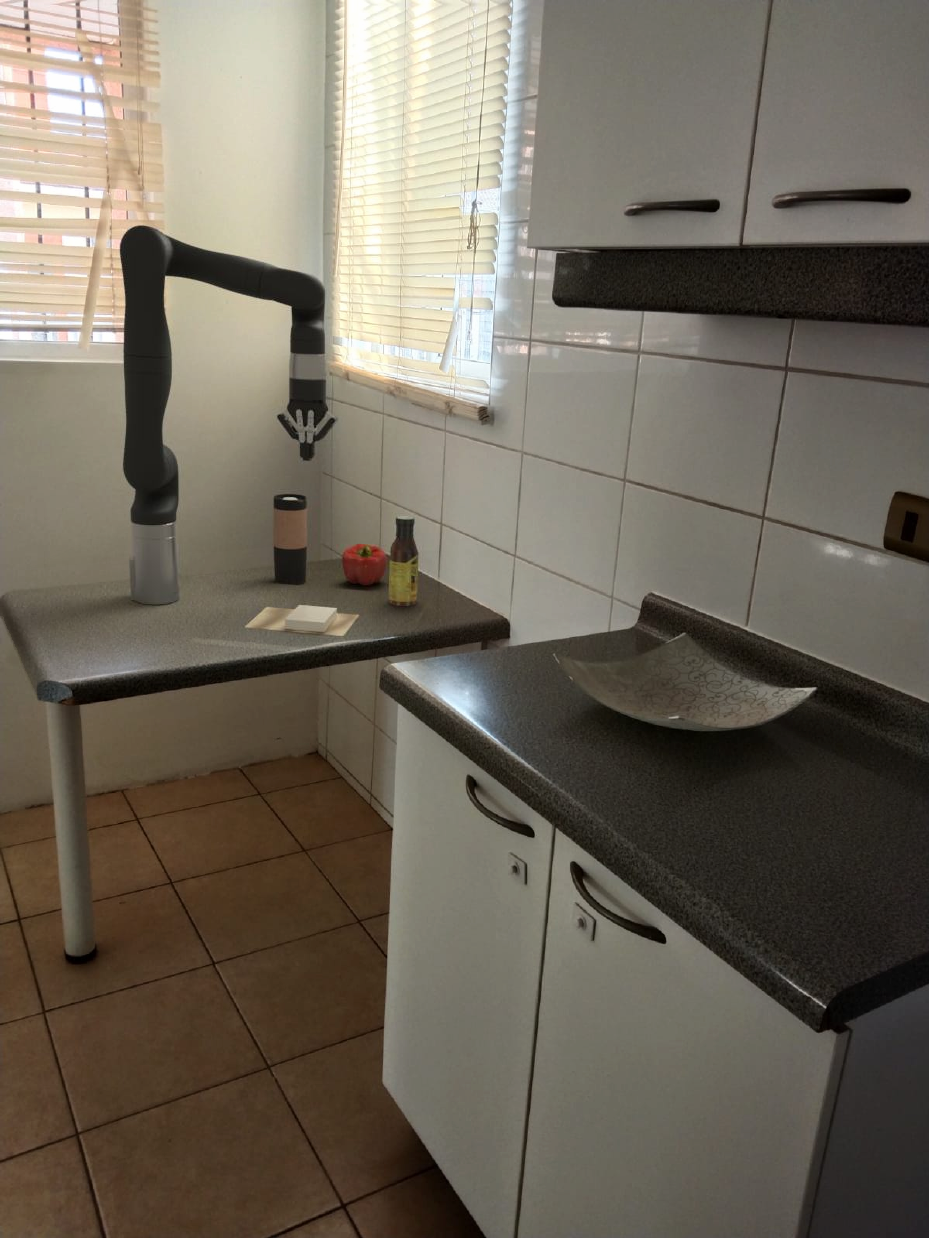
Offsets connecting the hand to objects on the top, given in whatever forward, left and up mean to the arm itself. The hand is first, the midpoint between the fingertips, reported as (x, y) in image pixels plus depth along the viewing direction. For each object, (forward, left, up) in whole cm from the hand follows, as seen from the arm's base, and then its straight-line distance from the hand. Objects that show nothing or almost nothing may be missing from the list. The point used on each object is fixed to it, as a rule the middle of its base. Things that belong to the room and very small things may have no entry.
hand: (307, 460), depth 212 cm
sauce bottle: (+21, +2, -31) cm, 38 cm away
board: (+4, -17, -31) cm, 36 cm away
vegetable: (+9, +17, -31) cm, 37 cm away
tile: (+6, -13, -29) cm, 32 cm away
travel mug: (-8, +14, -31) cm, 35 cm away
